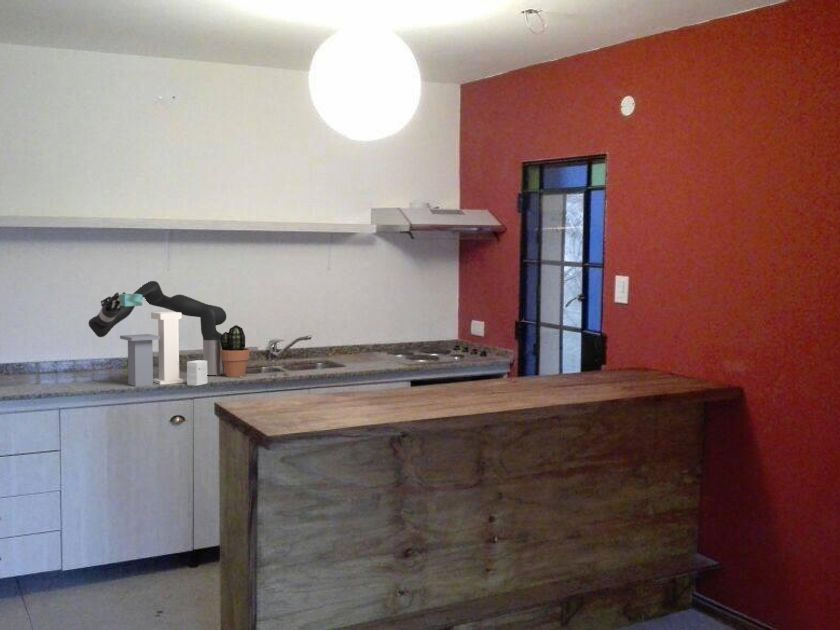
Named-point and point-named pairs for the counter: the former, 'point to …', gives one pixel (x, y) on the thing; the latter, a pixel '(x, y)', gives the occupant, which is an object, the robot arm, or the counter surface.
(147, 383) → the pedestal
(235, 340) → the potted plant
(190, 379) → the small box
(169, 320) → the tall stand
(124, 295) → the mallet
